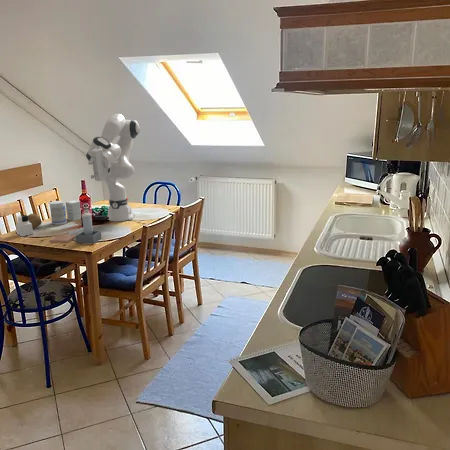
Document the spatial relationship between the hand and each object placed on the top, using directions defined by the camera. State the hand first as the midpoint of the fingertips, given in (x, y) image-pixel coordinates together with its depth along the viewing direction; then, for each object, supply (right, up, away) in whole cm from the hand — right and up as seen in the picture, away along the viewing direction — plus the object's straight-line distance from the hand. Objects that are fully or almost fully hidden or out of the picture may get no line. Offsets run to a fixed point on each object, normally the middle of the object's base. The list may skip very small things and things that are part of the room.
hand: (90, 170), depth 256 cm
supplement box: (-26, -28, +50) cm, 63 cm away
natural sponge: (-45, -34, +28) cm, 63 cm away
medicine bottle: (-45, -38, +15) cm, 61 cm away
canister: (-1, -41, +2) cm, 41 cm away
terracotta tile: (-17, -40, +4) cm, 44 cm away
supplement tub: (-33, -31, +40) cm, 60 cm away
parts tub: (-1, -41, +2) cm, 41 cm away
